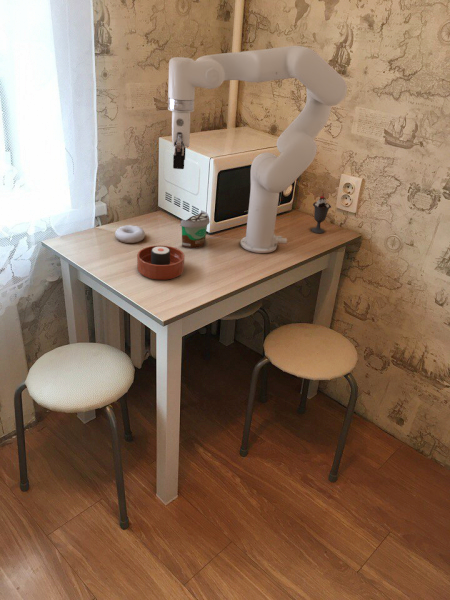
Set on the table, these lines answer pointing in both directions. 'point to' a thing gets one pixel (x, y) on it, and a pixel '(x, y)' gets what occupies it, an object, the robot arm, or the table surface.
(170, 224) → the table surface
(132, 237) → the donut
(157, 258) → the sushi roll
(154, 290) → the table surface
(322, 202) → the sundae
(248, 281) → the table surface
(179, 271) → the bowl
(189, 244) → the food container
